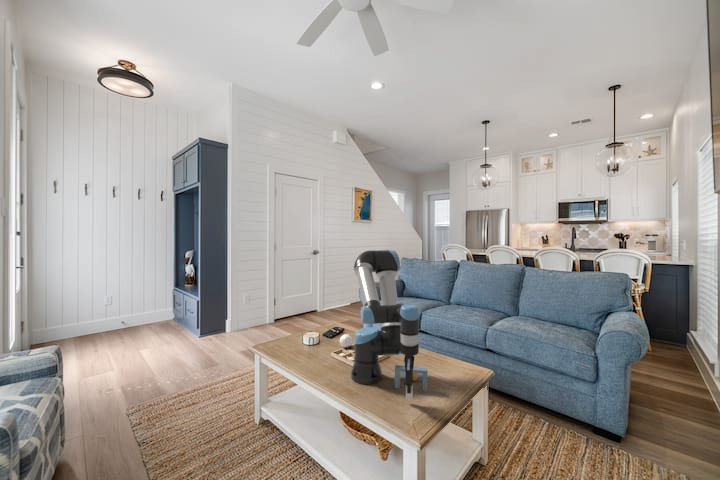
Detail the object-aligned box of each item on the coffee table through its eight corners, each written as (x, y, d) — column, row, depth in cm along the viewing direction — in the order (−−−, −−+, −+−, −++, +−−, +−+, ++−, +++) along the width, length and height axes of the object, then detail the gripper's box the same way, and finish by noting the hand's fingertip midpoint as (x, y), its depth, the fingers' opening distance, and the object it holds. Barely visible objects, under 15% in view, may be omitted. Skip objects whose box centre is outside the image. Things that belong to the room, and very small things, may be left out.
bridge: (427, 391, 138) (427, 371, 138) (394, 387, 141) (394, 368, 141) (427, 388, 141) (427, 368, 141) (395, 384, 144) (395, 365, 144)
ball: (406, 369, 146) (407, 367, 152) (405, 381, 145) (406, 379, 150) (418, 370, 145) (418, 368, 150) (417, 382, 144) (418, 380, 149)
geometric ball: (342, 351, 190) (335, 341, 190) (349, 343, 196) (342, 333, 196) (350, 348, 185) (342, 338, 185) (357, 340, 191) (349, 330, 191)
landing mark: (398, 378, 150) (398, 378, 150) (400, 366, 162) (400, 366, 162) (425, 381, 147) (425, 381, 147) (426, 369, 160) (426, 369, 160)
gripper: (418, 350, 120) (417, 409, 121) (419, 338, 133) (418, 392, 134) (398, 348, 122) (398, 407, 123) (401, 337, 135) (401, 390, 135)
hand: (409, 399), depth 128 cm, fingers closed
